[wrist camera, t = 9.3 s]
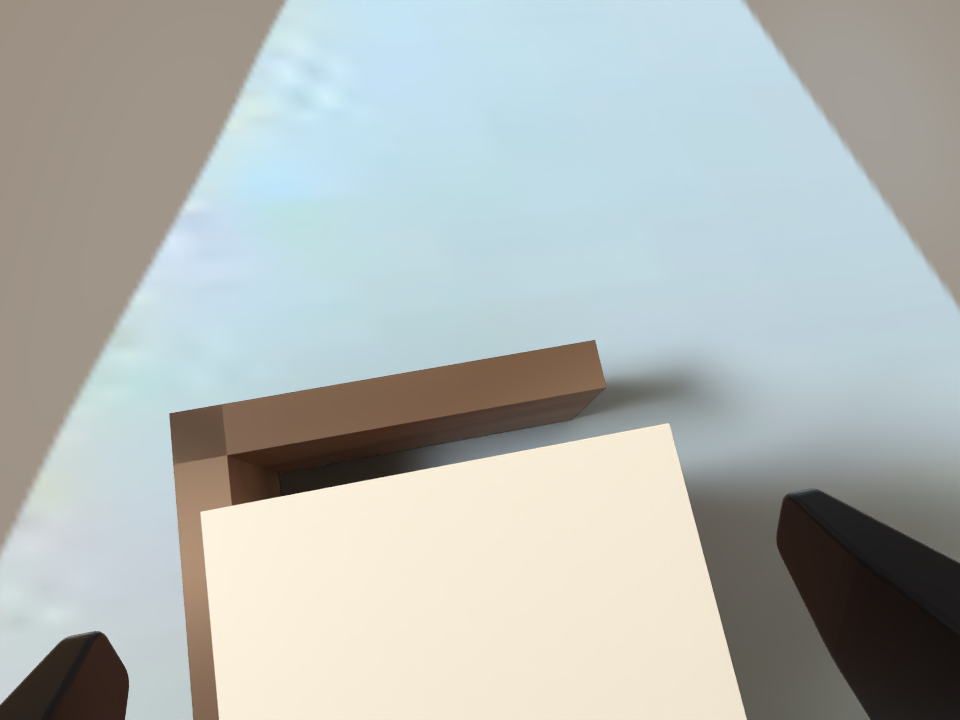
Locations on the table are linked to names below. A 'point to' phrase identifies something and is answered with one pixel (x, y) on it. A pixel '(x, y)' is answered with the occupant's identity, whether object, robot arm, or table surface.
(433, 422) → the walnut corner walls
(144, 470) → the table surface
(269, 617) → the pink tall block
